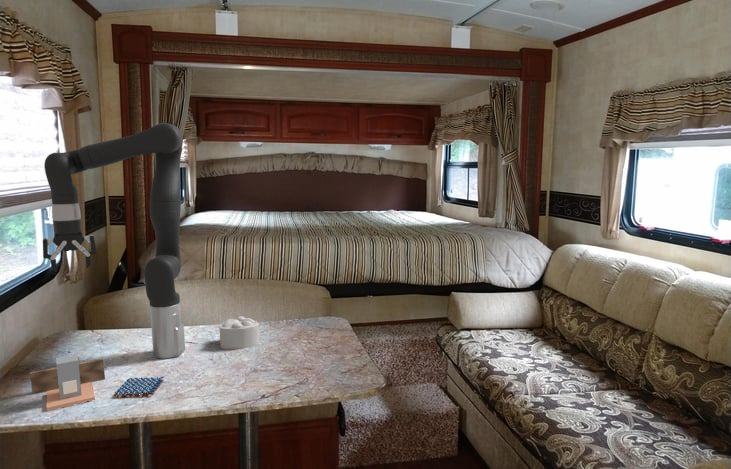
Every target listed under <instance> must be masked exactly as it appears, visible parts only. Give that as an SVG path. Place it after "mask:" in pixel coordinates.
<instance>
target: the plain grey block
mask: <svg viewBox="0 0 731 469" xmlns="http://www.w3.org/2000/svg"><path fill="white" fill-rule="evenodd" d="M55 361H56V362H55V364H56V367H57V374H58V384H59V393H60V400H62V399H67V398H71V397H76V396H80V395H82V394H81V383H80V373H79V363H80V362H79V356H78V354H77V353H76V354H70V355H66V356H60V357H56V358H55Z"/></svg>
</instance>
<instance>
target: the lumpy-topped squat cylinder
mask: <svg viewBox="0 0 731 469" xmlns="http://www.w3.org/2000/svg"><path fill="white" fill-rule="evenodd" d="M259 344H260V324H259V322H258V321H257V320H253V319H252V318H250V317H245V316H242V315H241V316H237V317H236V318H228V319H225V320H224V321H222V323H221V325H220V326H219V345H220V346H219V347H220V349H224V350H239V349H248V348H253V347H255V346H258V345H259Z"/></svg>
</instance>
